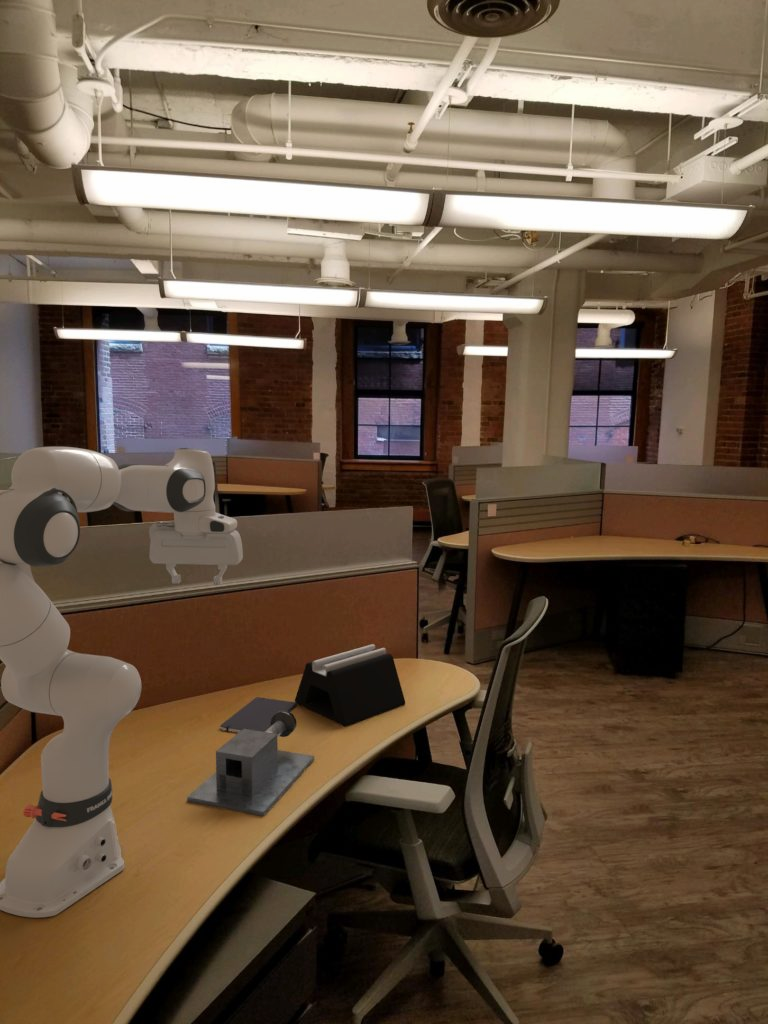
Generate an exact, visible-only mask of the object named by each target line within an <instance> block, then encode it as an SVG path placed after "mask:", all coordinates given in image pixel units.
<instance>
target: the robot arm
mask: <svg viewBox="0 0 768 1024" xmlns="http://www.w3.org/2000/svg"><path fill="white" fill-rule="evenodd" d="M173 454H174V455H173V458H172V459H171V460H170V461H169V462H168V463H166V464H165V465H146V464H145V465H144V464H138V463H137V464H135V463H123V464H121V465H119V466H118V465H117V463H116V461H115V460H114V459H113V458H112V457H109V456H108V455H105V454H103V453H101V452H99V451H95V450H92V449H87V448H81V447H80V448H79V447H72V446H41V447H34V448H31V449H28V450H26V451H23V453H21V454H20V455H19V456H18V457H17V459H15V462H14V464H13V466H12V469H11V486H9V487H8V489H0V660H1V662H2V663H3V664H4V665H5V667H4V669H3V672H2V674H1V679H0V689H1V692H2V695H3V698H4V699H5V701H7V702H8V703H10V704H11V705H14V706H16V707H18V708H21V709H23V710H26V711H29V712H31V713H38V714H46V715H51V716H52V715H53V716H59V717H62V720H63V731H62V732H61V733H59V734H57V735H55V736H53V737H52V738H51V739H50V740H49V741H48V742H47V744H45V747H44V748H43V749H42V752H41V755H40V765H41V766H40V769H41V770H40V771H41V785H42V787H41V789H42V790H41V791H40V795H39V798H38V802H37V805H34V804H31V803H29V804H27V805H26V806H24V809H23V812H22V813H23V816H24V817H26V818H31V819H34V821H33V822H32V823H31V825H30V827H29V828H28V829H27V831H26V832H25V833H24V835H23V836H22V838H21V840H20V841H19V842H18V844H17V846H16V847H15V848H14V850H13V851H12V853H11V854H10V856H9V857H8V859H7V862H6V867H5V876H4V878H3V879H2V880H1V881H0V911H3V912H5V913H8V914H11V915H15V916H17V917H18V916H19V917H24V918H36V919H37V918H49V917H54V916H56V915H58V914H60V913H61V912H63V911H65V910H66V909H67V908H68V907H70V906H72V905H73V904H75V903H76V902H78V901H79V900H81V899H82V898H83V897H85V896H86V895H88V894H89V893H91V892H93V891H94V890H95V889H97V888H98V887H99V886H101V885H103V884H104V883H106V882H107V881H109V880H110V879H112V878H113V877H115V876H116V875H117V874H119V873H120V872H122V871H123V870H124V869H125V867H126V865H125V861H124V859H123V856H122V848H121V845H120V842H119V838H118V832H117V831H118V830H117V826H116V820H115V816H114V814H113V811H112V805H111V804H112V802H113V792H114V791H113V787H112V780H111V778H110V776H109V775H110V774H109V773H110V772H109V771H110V770H109V769H110V768H109V759H110V758H109V757H110V755H109V753H110V752H109V751H110V749H109V748H110V742H111V741H110V740H111V738H112V734H113V732H114V730H115V727H116V726H117V724H118V723H120V721H121V720H122V719H124V718H125V717H127V716H128V715H130V713H131V712H133V710H134V709H135V707H136V706H137V703H138V702H139V700H140V697H141V693H142V680H141V676H140V673H139V671H138V669H137V668H136V666H134V665H133V664H131V663H128V662H127V661H123V660H121V659H118V658H115V657H112V656H107V655H105V656H104V655H98V654H97V655H96V654H88V653H80V652H76V651H72V650H70V649H68V647H69V645H70V644H69V643H70V639H71V627H70V624H69V623H68V622H67V620H66V619H65V618H64V616H63V615H62V614H61V612H60V611H59V609H58V608H57V607H56V606H55V604H54V603H53V602H52V600H51V599H50V598H49V596H48V595H47V594H46V593H45V591H44V590H43V589H42V588H41V587H40V586H39V585H38V584H37V583H36V581H35V578H34V576H33V573H32V569H31V567H37V568H38V567H39V568H44V567H51V566H56V565H57V566H58V565H60V564H62V563H64V562H66V561H67V560H68V559H69V558H70V557H71V556H72V554H73V552H74V551H75V550H76V548H77V546H78V544H79V540H80V536H81V524H80V523H81V522H80V517H79V514H78V513H92V512H98V511H102V510H106V509H108V508H110V507H111V506H112V505H113V506H115V507H116V508H118V509H119V510H121V511H124V512H153V513H167V514H168V513H169V514H171V513H172V514H173V519H174V520H173V521H159V520H157V521H155V523H153V524H151V525H150V527H149V528H148V529H149V533H148V534H149V535H148V536H149V539H150V544H149V561H151V563H152V564H155V565H156V564H160V565H165V568H166V571H167V572H168V574H169V575H170V576H171V583H172V584H178V585H179V584H180V583H181V582H182V575H181V573H180V574H179V573H177V571H176V569H175V567H176V566H177V565H204V566H205V565H211V566H215V565H216V566H217V569H218V570H220V571H219V573H218V574H217V575H214V576H213V585H222V584H223V575H224V574H225V572H226V571H227V569H228V566H237V565H238V564H240V563H241V561H243V558H244V551H243V542H242V538H241V535H240V533H239V531H238V530H236V529H237V528H238V521H237V519H236V518H233V517H230V516H227V515H224V514H221V513H219V512H216V504H215V501H214V493H215V490H216V489H215V488H216V482H215V472H214V471H215V469H214V464H213V460H212V456H211V454H210V452H208V451H207V450H204V449H201V448H193V447H179V448H177V449H175V450H174V453H173Z"/></svg>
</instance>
